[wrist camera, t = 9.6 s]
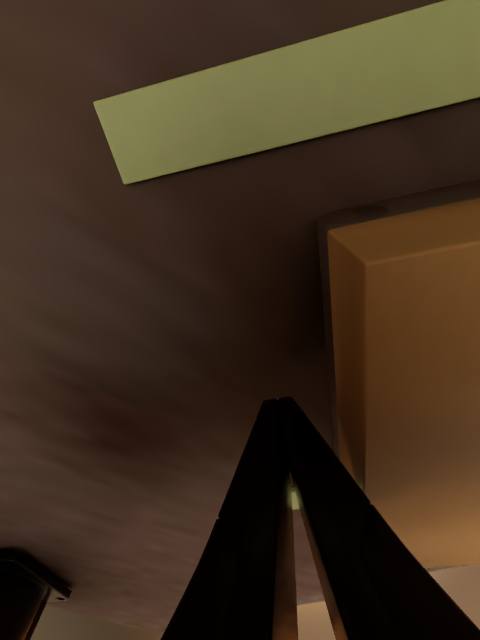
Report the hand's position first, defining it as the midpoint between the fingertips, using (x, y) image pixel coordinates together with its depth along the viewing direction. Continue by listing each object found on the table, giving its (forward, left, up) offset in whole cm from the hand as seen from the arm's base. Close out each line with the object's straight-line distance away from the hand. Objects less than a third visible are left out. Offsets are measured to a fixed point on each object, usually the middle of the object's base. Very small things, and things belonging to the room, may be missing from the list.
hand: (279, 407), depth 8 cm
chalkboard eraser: (0, -4, -1) cm, 4 cm away
